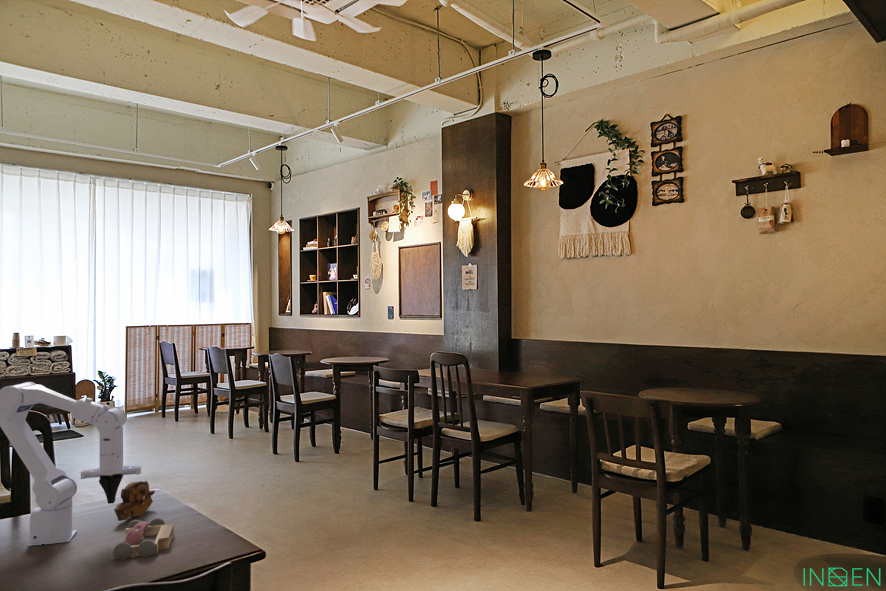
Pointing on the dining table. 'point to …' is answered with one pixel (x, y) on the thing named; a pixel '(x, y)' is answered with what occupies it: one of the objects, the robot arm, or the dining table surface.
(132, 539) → the pink toy figure
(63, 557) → the dining table surface
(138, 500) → the wooden carving
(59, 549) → the dining table surface
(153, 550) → the chassis
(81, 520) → the dining table surface
